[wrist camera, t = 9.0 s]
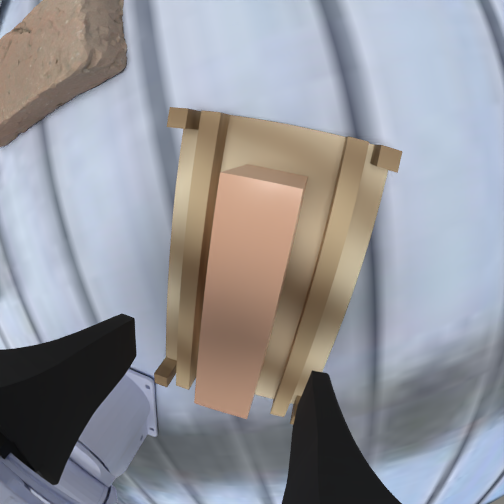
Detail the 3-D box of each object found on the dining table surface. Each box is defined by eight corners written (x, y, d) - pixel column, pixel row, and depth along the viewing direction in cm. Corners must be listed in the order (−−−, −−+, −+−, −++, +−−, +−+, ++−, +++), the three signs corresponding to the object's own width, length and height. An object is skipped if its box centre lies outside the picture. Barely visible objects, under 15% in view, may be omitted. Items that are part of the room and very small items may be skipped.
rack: (307, 397, 21) (303, 426, 19) (171, 358, 23) (154, 382, 20) (388, 149, 15) (402, 151, 12) (193, 111, 16) (169, 107, 14)
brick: (123, -19, 14) (83, -40, 10) (133, 72, 16) (86, 61, 12) (-2, 75, 18) (-37, 75, 14) (4, 150, 21) (-34, 157, 17)
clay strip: (261, 370, 20) (246, 418, 16) (217, 358, 21) (194, 403, 16) (308, 176, 15) (302, 189, 11) (247, 164, 16) (219, 172, 12)
